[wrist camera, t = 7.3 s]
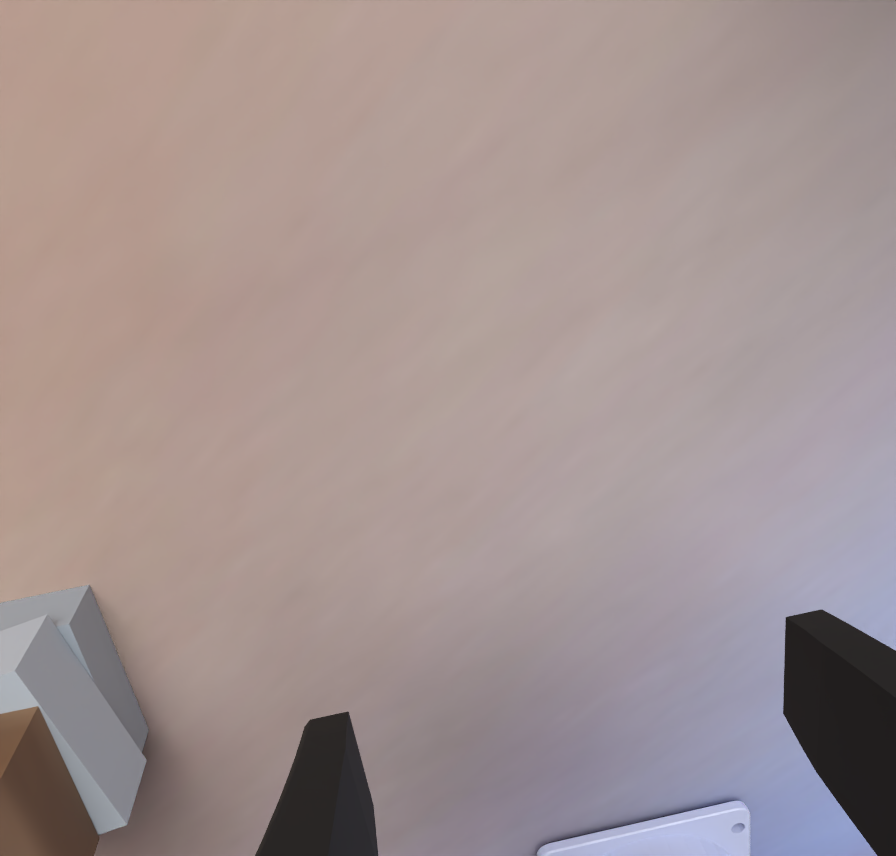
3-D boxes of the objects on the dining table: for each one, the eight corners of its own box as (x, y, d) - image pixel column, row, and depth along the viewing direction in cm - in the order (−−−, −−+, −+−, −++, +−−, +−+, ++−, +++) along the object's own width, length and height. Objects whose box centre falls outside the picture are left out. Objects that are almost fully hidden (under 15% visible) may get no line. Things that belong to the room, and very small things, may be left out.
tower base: (151, 720, 25) (135, 776, 23) (-25, 758, 24) (-58, 817, 22) (93, 577, 22) (69, 623, 20) (-102, 616, 22) (-146, 668, 20)
